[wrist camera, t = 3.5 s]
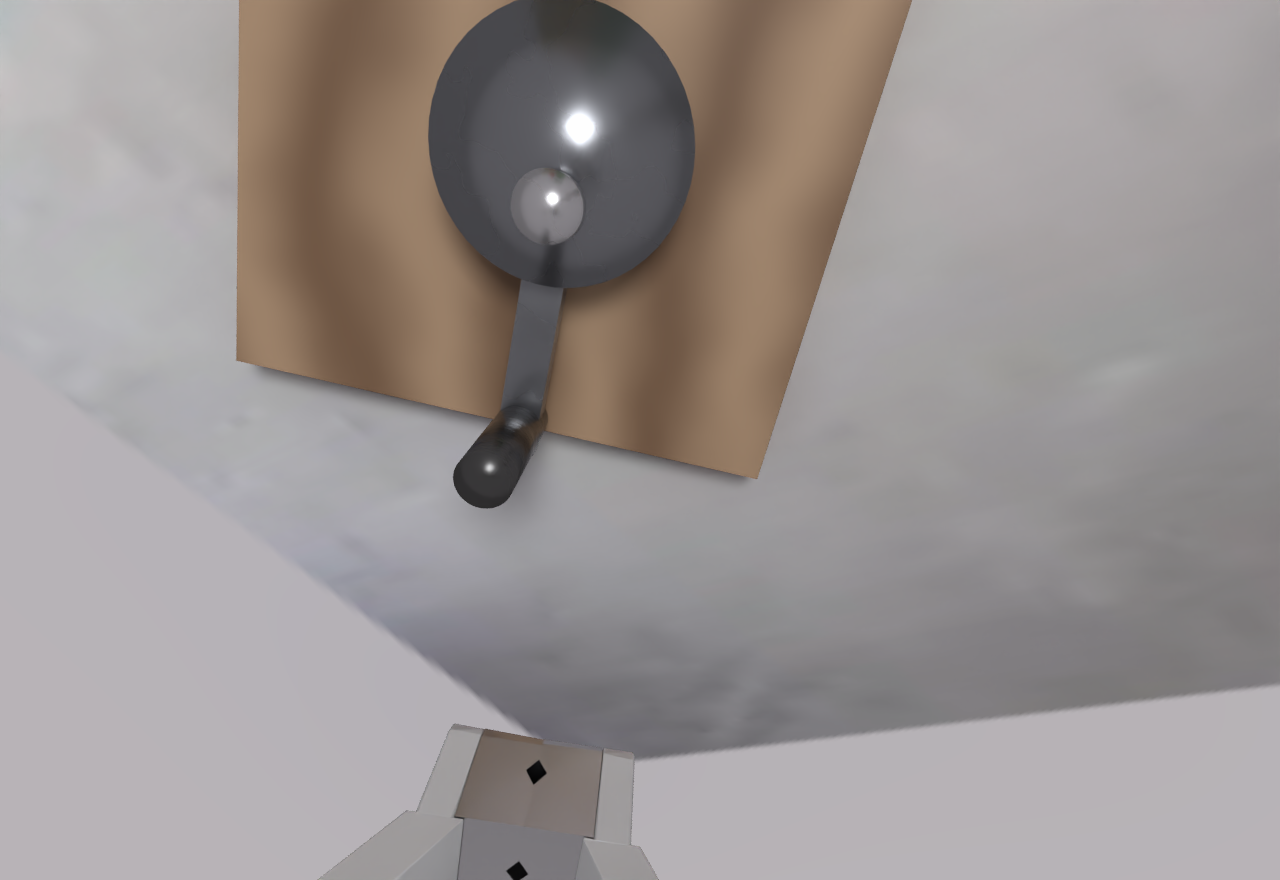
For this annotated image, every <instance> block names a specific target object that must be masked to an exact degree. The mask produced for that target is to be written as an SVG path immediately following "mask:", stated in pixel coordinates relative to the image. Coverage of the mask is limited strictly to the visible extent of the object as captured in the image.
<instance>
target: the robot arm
mask: <svg viewBox="0 0 1280 880" xmlns="http://www.w3.org/2000/svg"><path fill="white" fill-rule="evenodd" d="M634 760H635V758H634V755H633V752H626V751H620V750H613V749H606V748H603V750H602V748H600V747H594V746H587V745H580V744H574V743H567V742H560V741H553V740H547V739H544V740H542V739H537V738H532V737H526V736H521V735H515V734H510V733H505V732H499V731H494V730H488V729H480V728H475V727H469V726H464V725H459V724H454V725H453V726H452V727H451V729H450V730H449V732H448V734H447V737H446V740H445V741H444V744H443V746H442V749H441V751H440V754H439V756H438V759H437V761H436V764H435V766H434V769H433V772H432V774H431V776H430V778H429V781H428V783H427V786H426V788H425V791H424V793H423V796H422V798H421V801H420V803H419V806H418V808H417V811H416V812H414V811H405V812H404V813H403V814H401V815H400V816H399V817H398V818H396V819H395V820H394V821H392V822H391V823H390V824H389V825H387V826H386V827H385V828H383V829H382V830H381V831H380V832H378V833H377V834H376V835H374V836H373V837H372V838H371V839H369V840H368V841H367V842H366V843H364V844H363V845H362V846H360V847H359V848H358V849H357V850H355V851H354V852H353V853H352V854H350V855H349V856H348V857H346V858H345V859H344V860H342V861H341V862H340V863H339V864H337V865H336V866H335V867H334V868H332V869H331V870H330V871H328V872H327V873H326V874H324V875H323V876H322V877H321V878H319V879H318V880H659V879H658V878H657V876H656V874H655V872H654V871H653V869H652V867H651V865H650V863H649V862H648V860H647V858H646V856H645V855H644V853H643V851H642V849H641V848H640V847H638V846H632V845H631V829H632V804H633V782H634Z"/></svg>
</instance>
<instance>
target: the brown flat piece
mask: <svg viewBox="0 0 1280 880" xmlns="http://www.w3.org/2000/svg"><path fill="white" fill-rule="evenodd" d="M514 1H517V0H239V100H238V230H237V359H236V361H241V362H245V363H250V364H254V365H258V366H263V367H267V368H271V369H276V370H280V371H285V372H289V373H293V374H298V375H302V376H307V377H311V378H315V379H320V380H324V381H329V382H333V383H337V384H342V385H346V386H350V387H355V388H359V389H364V390H368V391H372V392H377V393H381V394H386V395H390V396H394V397H399V398H403V399H407V400H412V401H416V402H421V403H425V404H429V405H434V406H438V407H443V408H447V409H451V410H456V411H460V412H465V413H469V414H473V415H478V416H482V417H486V418H491V419H494V418H495V416H496V415H497V414H498V413H499V411H500V409H501V403H502V397H503V390H504V384H505V378H506V372H507V366H508V360H509V353H510V347H511V341H512V335H513V329H514V322H515V316H516V310H517V304H518V298H519V291H520V285H521V279H520V278H517V277H515V276H513V275H511V274H509V273H507V272H505V271H503V270H502V269H500V268H499V267H497V266H495V265H494V264H492V263H491V262H490V261H489V260H487V259H486V258H485V257H484V256H482V255H481V254H480V253H479V252H478V251H477V250H476V249H475V248H474V247H473V246H472V245H471V244H470V243H469V242H468V241H467V240H466V239H465V237H464V236H463V235H462V233H461V232H460V231H459V229H458V228H457V227H456V225H455V224H454V222H453V220H452V219H451V217H450V215H449V214H448V212H447V210H446V208H445V206H444V204H443V202H442V199H441V197H440V195H439V192H438V189H437V186H436V183H435V180H434V177H433V172H432V167H431V162H430V156H429V143H428V128H429V115H430V109H431V103H432V98H433V95H434V91H435V88H436V84H437V81H438V79H439V77H440V74H441V72H442V70H443V68H444V65H445V63H446V62H447V60H448V58H449V57H450V55H451V53H452V52H453V50H454V48H455V47H456V46H457V44H458V43H459V42H460V41H461V40H462V38H463V37H464V36H465V35H466V34H467V32H468V31H470V30H471V29H472V28H473V27H474V26H475V25H476V24H477V23H478V22H479V21H481V20H482V19H483V18H485V17H486V16H488V15H489V14H491V13H492V12H494V11H495V10H497V9H499V8H501V7H503V6H505V5H507V4H509V3H511V2H514ZM596 1H599V2H602V3H605V4H607V5H609V6H611V7H613V8H615V9H617V10H618V11H620V12H622V13H624V14H625V15H627V16H628V17H630V18H631V19H632V20H634V21H635V22H637V23H638V24H639V25H640V26H641V27H642V28H643V29H645V30H646V31H647V32H648V33H649V34H650V35H651V36H652V37H653V38H654V39H655V41H656V42H657V43H658V44H659V45H660V47H661V48H662V49H663V50H664V52H665V53H666V54H667V56H668V58H669V59H670V61H671V62H672V64H673V66H674V67H675V69H676V71H677V73H678V75H679V77H680V80H681V82H682V84H683V86H684V88H685V91H686V95H687V98H688V101H689V104H690V107H691V113H692V118H693V124H694V133H695V161H694V170H693V175H692V181H691V185H690V189H689V192H688V195H687V198H686V202H685V204H684V206H683V208H682V211H681V213H680V215H679V217H678V219H677V221H676V223H675V224H674V226H673V228H672V229H671V231H670V232H669V234H668V235H667V236H666V238H665V239H664V240H663V241H662V243H661V244H660V245H659V247H658V248H657V249H656V250H655V251H653V252H652V253H651V254H650V255H649V256H648V257H647V258H646V259H645V260H644V261H642V262H641V263H640V264H638V265H637V266H636V267H634V268H633V269H631V270H629V271H628V272H626V273H624V274H622V275H620V276H619V277H616V278H614V279H611V280H608V281H606V282H603V283H599V284H595V285H591V286H587V287H577V288H567V293H566V298H565V303H564V309H563V314H562V319H561V325H560V330H559V336H558V341H557V346H556V352H555V357H554V362H553V368H552V373H551V378H550V384H549V389H548V394H547V400H546V405H545V409H546V411H547V414H548V424H547V427H546V429H545V431H548V432H552V433H557V434H561V435H565V436H570V437H574V438H579V439H583V440H587V441H592V442H596V443H601V444H605V445H609V446H614V447H618V448H622V449H627V450H631V451H636V452H640V453H644V454H649V455H653V456H658V457H662V458H666V459H671V460H675V461H680V462H684V463H688V464H693V465H697V466H701V467H706V468H710V469H715V470H719V471H723V472H728V473H732V474H737V475H741V476H745V477H750V478H754V479H757V478H758V475H759V471H760V468H761V465H762V462H763V459H764V456H765V453H766V450H767V447H768V444H769V441H770V437H771V434H772V431H773V428H774V425H775V422H776V419H777V416H778V413H779V410H780V407H781V403H782V400H783V397H784V394H785V391H786V388H787V385H788V382H789V379H790V376H791V373H792V369H793V366H794V363H795V360H796V357H797V354H798V351H799V348H800V345H801V342H802V339H803V336H804V332H805V329H806V326H807V323H808V320H809V317H810V314H811V311H812V308H813V305H814V302H815V298H816V295H817V292H818V289H819V286H820V283H821V280H822V277H823V274H824V271H825V268H826V264H827V261H828V258H829V255H830V252H831V249H832V246H833V243H834V240H835V237H836V234H837V230H838V227H839V224H840V221H841V218H842V215H843V212H844V209H845V206H846V203H847V200H848V196H849V193H850V190H851V187H852V184H853V181H854V178H855V175H856V172H857V169H858V166H859V163H860V159H861V156H862V153H863V150H864V147H865V144H866V141H867V138H868V135H869V132H870V129H871V125H872V122H873V119H874V116H875V113H876V110H877V107H878V104H879V101H880V98H881V95H882V91H883V88H884V85H885V82H886V79H887V76H888V73H889V70H890V67H891V64H892V61H893V57H894V54H895V51H896V48H897V45H898V42H899V39H900V36H901V33H902V30H903V27H904V23H905V20H906V17H907V14H908V11H909V8H910V5H911V2H912V0H596Z"/></svg>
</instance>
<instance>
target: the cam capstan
mask: <svg viewBox="0 0 1280 880" xmlns="http://www.w3.org/2000/svg"><path fill="white" fill-rule="evenodd" d="M428 143H429V156H430V162H431V167H432V172H433V177H434V180H435V183H436V186H437V189H438V192H439V195H440V197H441V199H442V202H443V204H444V206H445V208H446V210H447V212H448V214H449V215H450V217H451V219H452V220H453V222H454V224H455V225H456V227H457V228H458V229H459V231H460V232H461V233H462V235H463V236H464V237H465V239H466V240H467V241H468V242H469V243H470V244H471V245H472V246H473V247H474V248H475V249H476V250H477V251H478V252H479V253H480V254H481V255H482V256H484V257H485V258H486V259H487V260H489V261H490V262H491V263H492V264H494V265H495V266H497V267H499V268H500V269H502V270H503V271H505V272H507V273H509V274H511V275H513V276H515V277H517V278H520V279H521V285H520V291H519V298H518V304H517V310H516V316H515V322H514V329H513V335H512V341H511V347H510V353H509V360H508V366H507V372H506V378H505V384H504V390H503V397H502V403H501V409H500V411H499V413H498V414H497V415H496V416H495V418H494V419H493V420H492V421H491V423H490V424H489V425H488V426H487V428H486V429H485V430H484V431H483V433H482V434H481V435H480V436H479V438H478V439H477V440H476V441H475V443H474V444H473V445H472V446H471V448H470V449H469V450H468V451H467V453H466V454H465V455H464V457H463V458H462V459H461V460H460V462H459V463H458V464H457V466H456V468H455V470H454V474H453V481H454V486H455V488H456V490H457V492H458V494H459V495H460V496H461V497H462V499H464V500H465V501H466V502H467V503H469V504H471V505H473V506H475V507H479V508H494V507H497V506H499V505H501V504H503V503H504V502H505V501H507V499H508V498H509V497H510V495H511V494H512V492H513V490H514V488H515V486H516V484H517V482H518V480H519V478H520V476H521V475H522V473H523V471H524V469H525V467H526V465H527V463H528V461H529V459H530V457H531V456H533V454H534V452H535V450H536V448H537V446H538V442H539V440H540V439H541V437H542V435H543V433H544V431H545V429H546V427H547V424H548V414H547V411H546V409H545V405H546V400H547V394H548V389H549V384H550V378H551V373H552V368H553V362H554V357H555V352H556V346H557V341H558V336H559V330H560V325H561V319H562V314H563V309H564V303H565V298H566V293H567V288H577V287H587V286H591V285H595V284H599V283H603V282H606V281H608V280H611V279H614V278H616V277H619V276H620V275H622V274H624V273H626V272H628V271H629V270H631V269H633V268H634V267H636V266H637V265H638V264H640V263H641V262H642V261H644V260H645V259H646V258H647V257H648V256H649V255H650V254H651V253H652V252H653V251H655V250H656V249H657V248H658V247H659V245H660V244H661V243H662V241H663V240H664V239H665V238H666V236H667V235H668V234H669V232H670V231H671V229H672V228H673V226H674V224H675V223H676V221H677V219H678V217H679V215H680V213H681V211H682V208H683V206H684V204H685V202H686V198H687V195H688V192H689V189H690V185H691V181H692V175H693V170H694V161H695V133H694V124H693V118H692V113H691V107H690V104H689V101H688V98H687V95H686V91H685V88H684V86H683V84H682V82H681V80H680V77H679V75H678V73H677V71H676V69H675V67H674V66H673V64H672V62H671V61H670V59H669V58H668V56H667V54H666V53H665V52H664V50H663V49H662V48H661V47H660V45H659V44H658V43H657V42H656V41H655V39H654V38H653V37H652V36H651V35H650V34H649V33H648V32H647V31H646V30H645V29H643V28H642V27H641V26H640V25H639V24H638V23H637V22H635V21H634V20H632V19H631V18H630V17H628V16H627V15H625V14H624V13H622V12H620V11H618V10H617V9H615V8H613V7H611V6H609V5H607V4H605V3H602V2H599V1H596V0H517V1H514V2H511V3H509V4H507V5H505V6H503V7H501V8H499V9H497V10H495V11H494V12H492V13H491V14H489V15H488V16H486V17H485V18H483V19H482V20H481V21H479V22H478V23H477V24H476V25H475V26H474V27H473V28H472V29H471V30H470V31H468V32H467V34H466V35H465V36H464V37H463V38H462V40H461V41H460V42H459V43H458V44H457V46H456V47H455V48H454V50H453V52H452V53H451V55H450V57H449V58H448V60H447V62H446V63H445V65H444V68H443V70H442V72H441V74H440V77H439V79H438V81H437V84H436V88H435V91H434V95H433V98H432V103H431V109H430V115H429V128H428Z"/></svg>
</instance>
